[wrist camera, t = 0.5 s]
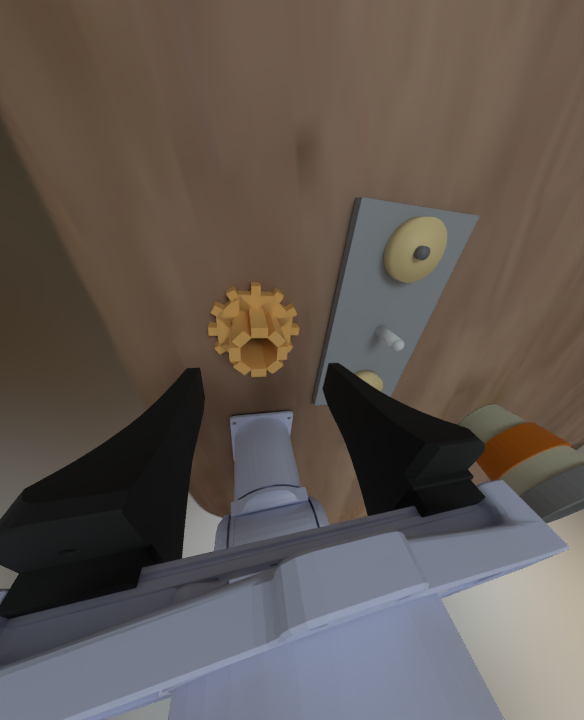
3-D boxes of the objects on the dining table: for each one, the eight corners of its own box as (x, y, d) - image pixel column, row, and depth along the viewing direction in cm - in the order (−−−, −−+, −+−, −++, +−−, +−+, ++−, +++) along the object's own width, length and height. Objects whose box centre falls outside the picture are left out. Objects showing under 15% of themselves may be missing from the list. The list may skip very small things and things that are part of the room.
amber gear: (291, 359, 23) (303, 390, 19) (214, 362, 21) (209, 396, 17) (301, 284, 19) (318, 303, 15) (204, 279, 17) (193, 300, 13)
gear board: (385, 394, 30) (405, 419, 27) (312, 400, 28) (323, 428, 24) (469, 215, 18) (526, 216, 15) (355, 197, 16) (391, 193, 12)
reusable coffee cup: (471, 442, 46) (553, 522, 34) (434, 438, 42) (515, 530, 30) (522, 401, 40) (642, 481, 28) (486, 392, 36) (611, 483, 24)
